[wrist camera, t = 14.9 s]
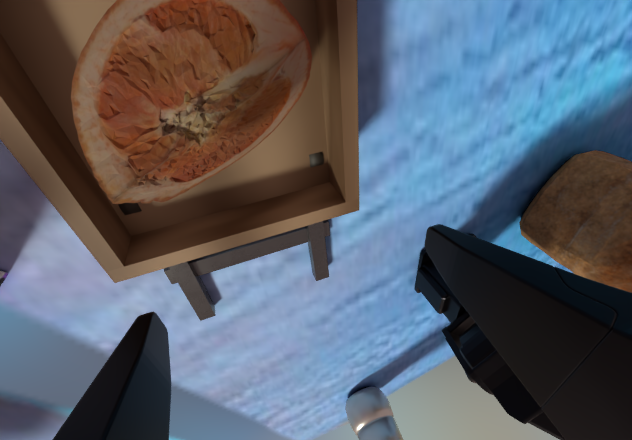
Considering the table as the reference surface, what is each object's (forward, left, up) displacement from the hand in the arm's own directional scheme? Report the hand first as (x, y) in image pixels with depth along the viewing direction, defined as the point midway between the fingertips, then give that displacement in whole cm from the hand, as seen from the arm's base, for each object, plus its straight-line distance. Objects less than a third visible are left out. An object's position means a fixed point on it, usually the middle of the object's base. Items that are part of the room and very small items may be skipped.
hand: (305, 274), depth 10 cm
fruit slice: (+2, -4, -9) cm, 10 cm away
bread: (-39, +17, -12) cm, 44 cm away
